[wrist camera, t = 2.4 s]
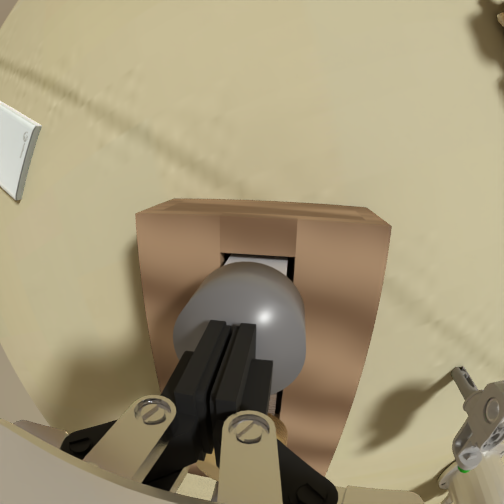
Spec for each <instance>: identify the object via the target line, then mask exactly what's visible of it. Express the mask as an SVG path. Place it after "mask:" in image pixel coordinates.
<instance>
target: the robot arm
mask: <svg viewBox="0 0 504 504" xmlns="http://www.w3.org/2000/svg"><path fill="white" fill-rule="evenodd" d="M255 358H256V324H249V323H241V324H240V326H235V327H234V330H233V333H232V329H231V326H230V325H227V324H226V321H218V320H210V322H209V324H208V326H207V328H206V329H205V331H204V333H203V335H202V337H201V339H200V341H199V343H198V345H197V347H196V349H195V351H194V352H193V351H185V352H184V353H183V355H182V357H181V359H180V360H179V362H178V364H177V366H176V368H175V370H174V371H173V373H172V375H171V377H170V379H169V380H168V382H167V384H166V386H165V388H164V390H163V391H162V393H161V395H148V396H143V397H141V398H139V399H137V400H136V401H135V402H133V403H132V404H131V406H130V407H129V408H128V409H127V410H126V411H125V412H124V413H123V415H122V416H121V417H120V418H119V419H118V420H115V421H112V422H108V423H105V424H101V425H98V426H94V427H91V428H87V429H83V430H79V431H76V432H73V433H71V434H68V432H67V431H66V430H61V429H57V428H53V427H49V426H45V425H41V424H37V423H33V422H30V421H25V420H20V421H16V422H15V423H13V424H12V423H10V422H8V421H6V420H4V419H1V418H0V504H424V502H423V500H422V499H421V497H420V496H419V495H418V494H416V493H414V492H411V491H402V490H385V489H374V488H364V487H356V486H347V488H343V487H337V486H334V485H333V484H332V483H331V482H330V481H329V480H328V479H326V478H325V477H324V476H322V475H321V474H320V473H318V472H317V471H316V470H315V469H313V468H312V467H311V466H310V465H308V464H307V463H306V462H305V461H303V460H302V459H301V458H300V457H298V456H297V455H296V454H295V453H294V452H292V451H291V450H290V449H289V448H288V447H286V446H285V445H284V444H283V443H282V442H281V441H279V440H278V439H277V437H276V428H275V425H274V422H273V421H272V420H271V418H270V417H268V409H269V401H270V394H271V385H272V374H273V360H261V359H255ZM213 449H214V452H215V459H216V466H217V467H218V468H219V469H220V470H219V484H218V499H217V502H213V501H208V500H203V499H198V498H193V497H189V496H185V495H180V494H176V492H177V490H178V488H179V486H180V485H181V483H182V481H183V480H184V478H185V476H186V475H187V473H188V470H189V465H191V464H194V463H196V462H197V461H198V460H200V461H204V460H205V457H206V454H212V452H213ZM480 452H481V451H480ZM481 454H482V460H481V462H480V463H479V464H478V466H477V467H476V468H474V469H472V470H470V471H469V472H467V473H462V472H460V471H459V469H458V465H457V462H456V461H455V462H454V463H453V464H451V465H450V466H449V467H448V468H447V469H446V470H445V471H444V472H443V473H442V474H441V476H440V477H439V479H438V484H439V487H440V488H441V489H448V491H449V493H448V496H447V497H446V498H445V499H444V500H443V501H442V502H441V504H451V503H454V504H504V465H503V462H502V460H501V458H502V456H503V455H504V442H503V441H502V442H501V443H500V444H499V445H498V446H496V447H495V448H493V449H491V450H488V451H485V452H481Z"/></svg>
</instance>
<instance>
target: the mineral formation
mask: <svg viewBox="0 0 504 504" xmlns="http://www.w3.org/2000/svg"><path fill="white" fill-rule="evenodd" d="M497 18H498V22H499V23H500V24H501V25H502V26H503V27H504V12H503V13H500V14H498V15H497Z"/></svg>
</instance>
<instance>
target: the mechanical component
mask: <svg viewBox="0 0 504 504" xmlns="http://www.w3.org/2000/svg"><path fill="white" fill-rule="evenodd" d="M451 375H452V377H453V379H454V381H455V383H456V384H457V386H458V388H459V390H460V392H461V394H462V395H463V397H464V399H465V402H464V404H463V409H464V411H466V412H467V414H468V418H467V419H466V421H465V423H464V424H463V426H462V427H461V429H460V430H459V432H458V433H457V435H456V436H455V438H454V440H453V444H452V450H453V454H454V457H455V459H456V462H457V465H458V469H459V471H460V472H462V473H467V472H469V471H470V470H472V469H474V468H476V467H477V466H478V464H479V463H480V462H481V460H482V454H481V452H485V451H488V450H491V449H493V448H495V447H496V446H498V445H499V444H500V443H501V442H502V441H503V440H504V381H499V382H494V383H490V384H488V385H487V386H486V387H485V389H484V390H478V389H477V387H476V385H475V384H474V382H473V381H472V379H471V377H470V376H469V374H468V372H467V371H466V369H465V368H464V366H463V368H462V370H460V368H458V367H455V368H454V369H453V370H452V373H451ZM480 451H481V452H480Z"/></svg>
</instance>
